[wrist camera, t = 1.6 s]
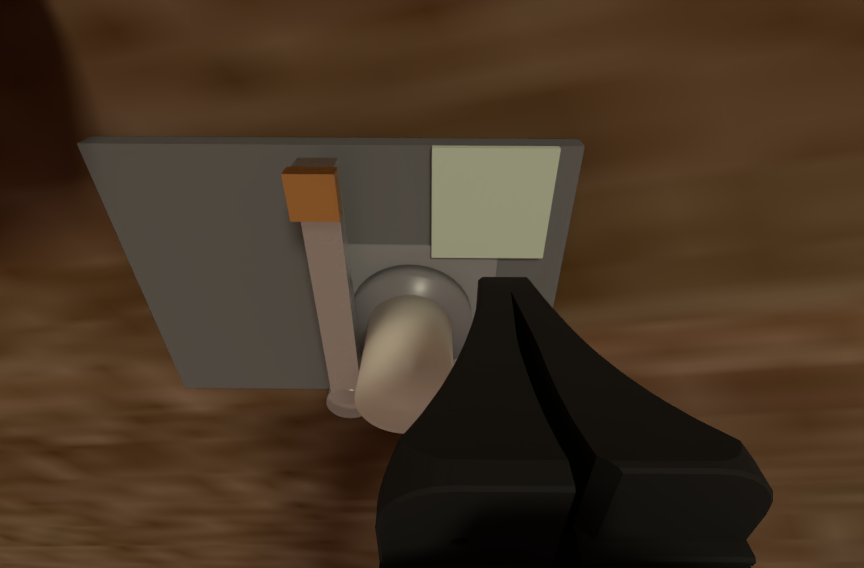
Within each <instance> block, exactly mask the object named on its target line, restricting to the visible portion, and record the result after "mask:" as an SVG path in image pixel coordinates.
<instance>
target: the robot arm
mask: <svg viewBox="0 0 864 568" xmlns="http://www.w3.org/2000/svg"><path fill="white" fill-rule="evenodd" d="M772 502H773V491H772V489H771V487H770V486H769V484H768V482H767V481H766V479H765V477H764V476H763V474H762V472H761V471H760V469H759V467H758V466H757V464H756V462H755V461H754V459H753V458H752V456H751V455H750V454H749V452H748V451H747V449H746V448H745V447H744V445H743V444H742V443H741V441H740V440H738V439H736V438H734V437H732V436H730V435H728V434H726V433H724V432H721V431H719V430H717V429H715V428H713V427H711V426H709V425H707V424H705V423H703V422H701V421H699V420H697V419H695V418H693V417H692V416H690V415H688V414H686V413H685V412H683V411H681V410H679V409H678V408H676V407H674V406H672V405H671V404H669V403H667V402H665V401H664V400H662V399H661V398H659V397H657V396H656V395H654V394H652V393H651V392H649V391H648V390H646V389H645V388H643V387H642V386H641V385H639V384H638V383H636V382H635V381H633V380H632V379H630V378H629V377H627V376H626V375H625V374H623V373H622V372H621V371H619V370H618V369H617V368H615V367H614V366H613V365H612V364H610V363H609V362H608V361H607V360H605V359H604V358H603V357H602V356H600V355H599V354H598V353H597V352H596V351H595V350H593V349H592V348H591V347H590V346H589V345H588V344H587V343H586V342H585V341H584V340H583V339H582V338H580V337H579V336H578V335H577V334H576V333H575V332H574V331H573V330H572V329H571V328H570V326H569V325H568V324H567V323H566V322H565V321H564V320H563V319H562V318H561V317H560V316H559V315H558V313H557V312H556V311H555V310H554V309H553V308H552V307H551V305H550V304H549V303H548V302H547V301H546V299H545V298H544V297H543V296H542V295H541V293H540V292H539V291H538V290H537V288H536V287H535V286H534V285H533V284H532V282H531V281H530V280H529V279H528V278H527V277H482V278H480V279H479V280H478V288H477V302H476V311H475V315H474V318H473V322H472V325H471V328H470V330H469V333H468V335H467V338H466V341H465V343H464V345H463V348H462V350H461V352H460V354H459V356H458V358H457V360H456V362H455V364H454V366H453V368H452V369H451V371H450V373H449V374H448V376H447V378H446V380H445V381H444V383H443V384H442V386H441V388H440V389H439V391H438V392H437V393H436V395H435V396H434V398H433V399H432V400H431V402H430V403H429V404H428V406H427V407H426V408H425V410H424V411H423V412H422V414H421V415H420V416H419V417H418V419H417V420H416V421H415V422H414V423H413V424H412V425H411V426H410V428H409V429H408V430H407V431H406V432H405V433H404V434H403V435H402V437H401V438H400V439H399V441H398V443H397V446H396V448H395V450H394V452H393V455H392V457H391V459H390V462H389V464H388V467H387V469H386V472H385V475H384V477H383V481H382V484H381V487H380V492H379V496H378V503H377V514H376V526H375V529H376V536H377V544H378V551H379V559H380V565H379V568H751V567H750V566H753V565H754V564H755V563H756V559H755V556H754V554H753V552H752V550H751V548H750V546H749V544H748V543H747V541H746V539H747V538H748V537H749V535H750V534H751V533H752V532H753V530H754V529H755V528H756V527H757V525H758V524H759V523H760V522H761V520H762V519H763V518H764V517H765V515H766V514H767V512H768V510H769V508H770V506H771V504H772Z"/></svg>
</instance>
